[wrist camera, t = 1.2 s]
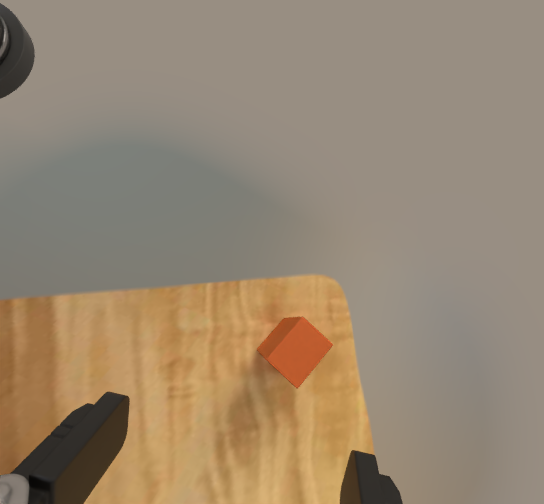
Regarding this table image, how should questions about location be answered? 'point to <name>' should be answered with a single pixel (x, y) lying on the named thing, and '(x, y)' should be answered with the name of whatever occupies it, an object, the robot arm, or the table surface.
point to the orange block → (294, 349)
